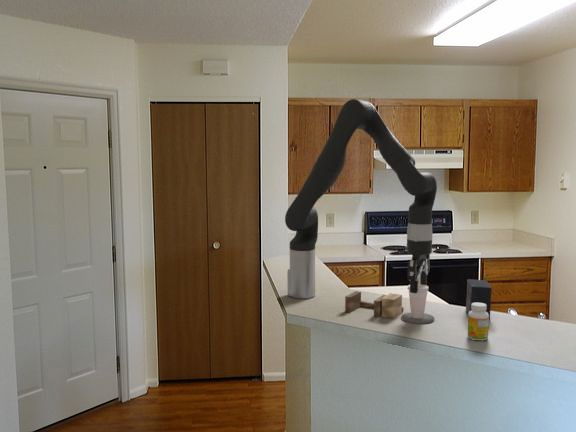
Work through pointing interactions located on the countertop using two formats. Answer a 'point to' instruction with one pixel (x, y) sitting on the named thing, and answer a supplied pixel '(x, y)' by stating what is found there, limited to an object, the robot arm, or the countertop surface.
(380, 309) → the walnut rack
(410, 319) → the coaster
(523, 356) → the countertop surface
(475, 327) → the supplement bottle
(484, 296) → the small box
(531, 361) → the countertop surface
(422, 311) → the smoothie
